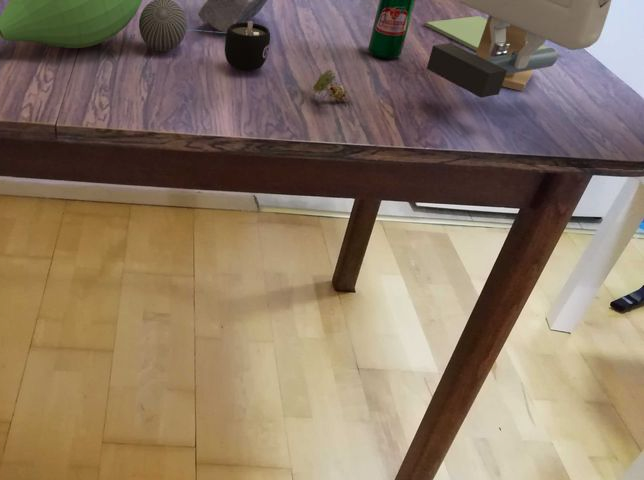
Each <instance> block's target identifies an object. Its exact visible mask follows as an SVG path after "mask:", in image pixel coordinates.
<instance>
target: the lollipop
mask: <svg viewBox="0 0 644 480" xmlns="http://www.w3.org/2000/svg"><path fill="white" fill-rule="evenodd" d="M138 29H139V33H140V36H141V39H142V41H143V42H144V43H145V45H146V46H148V47H149V48H150V49H152V50H154V51H156V52H169V51H172V50H174V49H175V48H177V47H178V46H180V44H181V43H182V42H183V40H184V38H185V36H186V32H189V31H191V29H190V28H188V27H187V18H186V15H185V13H184V10H183V8H182V7H181V6H180V5H178V3H176V2H175V1H173V0H152V1H150V2H149V3H148V4H147V5H146V6H145V7H144V8H143V9H142V11H141V13H140V16H139V21H138ZM193 31H195V32H196V31H197V32H202V30H201V29H193ZM205 32H206V33H207V32H208V33H213V31H211V30H205ZM216 33H219V34H225V32H221V31H216Z"/></svg>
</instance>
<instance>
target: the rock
mask: <svg viewBox="0 0 644 480" xmlns="http://www.w3.org/2000/svg"><path fill="white" fill-rule="evenodd" d="M267 2H268V0H206V2H205V3H204V4H203V5H202V7H201V8H200V10H199V12H198V14H197V15H198V16H199V18H200V20H201V21H202V22H205V23H207V24H210V26H211V27H213V28H215V29H216V30H217V31H218V32H224V34H226V33H227V30H228V28H229V26H231V25H232V24H235V23H248V21H251V20H252V19H253V18H254V17H256V16H257V15H258V13H259V12H261V10H262V9H263V8H264V6H265V5H266V4H267Z"/></svg>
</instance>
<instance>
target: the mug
mask: <svg viewBox="0 0 644 480" xmlns="http://www.w3.org/2000/svg"><path fill="white" fill-rule="evenodd" d="M270 45H271V32H270V30H269V28H268V27H266V26H264V25H262V24H258V23H256V22H255V23H254V21H251V20H249V21H248V22H247V23H235V24H232V25H231V26H229V28H228V30H227V33H225V40H224V55H225V59H226V62H227V63H228V65H229V66H230V67H231V68H233V69H235V70H238V71H241V72H253V71H257V70H259V69H260V68H262V67H263V66H264V65H265V63H266V61H267V59H268V56H269V50H270Z"/></svg>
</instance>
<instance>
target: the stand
mask: <svg viewBox="0 0 644 480" xmlns="http://www.w3.org/2000/svg"><path fill="white" fill-rule="evenodd" d="M491 19H492V16H489V15H488V17H487V23H486V26H485V29H484V31H483V34H482V37H481V40H480V43H479V46H478V49H477V51H475V55H477V56H479V57H481V58H483V59H484V58H490V57H492V56H490V55H489V54H488V52H489V49H490V46H491V43H492V41H491V34H490V22H491ZM526 34H527V31H525V30H522V29H520V28H517V27H515V26H513V25H510V26H509V27H506V41H505V42H507V43H509V44H510V46H509V49H508V50H507V54H506V55H509V54H512V53H513V51H519V50H521V49H522V48H523V47H524V46H525V45H526V44H527V42H528V41H525V37H526ZM533 71H534V70H529V71H523V72H518V73H512V74H506V75H505V78H504V81H503V84H502V87H503V88H507V89H512V90H515V91H519V92H523V91H524V89H525V87H526V85H527V84H528V81H529V80H530V78H531V76H532V74H533Z"/></svg>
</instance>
